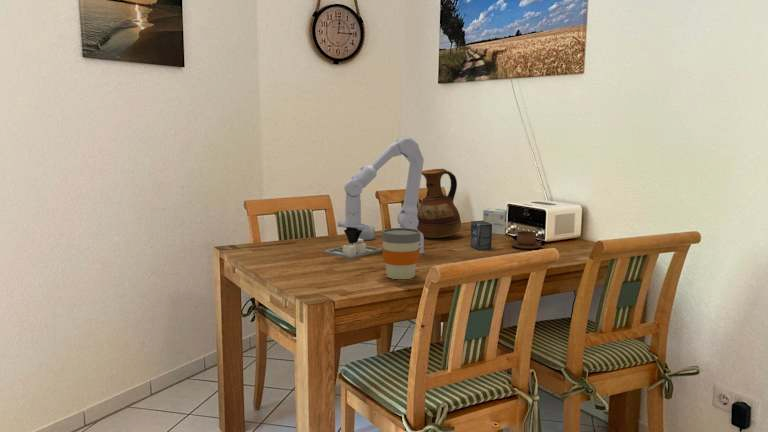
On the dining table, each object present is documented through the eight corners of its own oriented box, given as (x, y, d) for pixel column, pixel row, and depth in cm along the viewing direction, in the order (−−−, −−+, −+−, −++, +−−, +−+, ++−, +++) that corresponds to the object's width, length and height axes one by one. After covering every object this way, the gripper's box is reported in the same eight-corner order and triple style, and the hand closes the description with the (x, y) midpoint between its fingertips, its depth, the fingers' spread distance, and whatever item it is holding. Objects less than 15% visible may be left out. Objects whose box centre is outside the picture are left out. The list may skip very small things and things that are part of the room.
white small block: (363, 248, 232) (363, 237, 231) (358, 249, 230) (358, 238, 229) (355, 246, 235) (355, 236, 234) (351, 247, 232) (351, 237, 232)
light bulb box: (509, 233, 273) (510, 209, 271) (504, 235, 267) (505, 211, 265) (487, 230, 278) (488, 207, 277) (482, 232, 273) (482, 209, 271)
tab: (355, 255, 220) (355, 244, 219) (350, 256, 218) (350, 245, 217) (347, 253, 222) (347, 242, 222) (342, 254, 220) (342, 243, 220)
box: (470, 246, 242) (470, 220, 240) (482, 246, 244) (483, 220, 242) (478, 250, 235) (479, 224, 233) (491, 249, 236) (492, 223, 235)
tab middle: (365, 252, 224) (365, 241, 223) (360, 253, 222) (360, 243, 221) (357, 251, 227) (357, 240, 226) (352, 252, 224) (352, 241, 224)
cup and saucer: (536, 244, 248) (536, 230, 247) (545, 250, 236) (545, 235, 235) (507, 244, 247) (508, 230, 246) (515, 251, 235) (515, 235, 234)
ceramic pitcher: (407, 234, 268) (407, 167, 263) (445, 231, 276) (447, 166, 271) (428, 242, 250) (429, 170, 245) (469, 238, 259) (471, 169, 254)
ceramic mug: (376, 242, 250) (376, 224, 249) (359, 243, 246) (359, 226, 245) (365, 238, 259) (365, 221, 258) (348, 239, 255) (348, 222, 254)
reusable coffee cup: (397, 269, 203) (397, 226, 201) (427, 276, 196) (428, 230, 193) (373, 277, 194) (373, 231, 191) (404, 283, 186) (404, 236, 184)
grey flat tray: (382, 253, 229) (382, 248, 229) (350, 261, 215) (350, 256, 215) (355, 248, 238) (355, 243, 237) (323, 255, 224) (323, 251, 224)
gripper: (331, 211, 225) (331, 246, 228) (360, 215, 216) (360, 252, 218) (344, 209, 231) (344, 243, 233) (373, 213, 222) (373, 249, 224)
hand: (353, 247), depth 226 cm, fingers closed
